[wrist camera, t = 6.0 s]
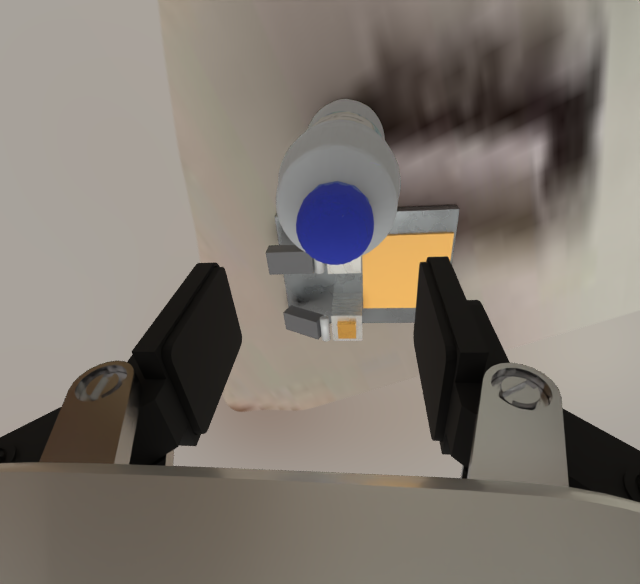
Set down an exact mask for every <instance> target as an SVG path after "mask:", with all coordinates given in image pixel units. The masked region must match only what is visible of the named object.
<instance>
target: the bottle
mask: <svg viewBox="0 0 640 584" xmlns="http://www.w3.org/2000/svg"><path fill="white" fill-rule="evenodd" d="M400 186H401V180H400V172H399V167H398V164H397V161H396V158H395V156H394V154H393V152H392V151H391V149H390V147H389V146H388V144H387V143H386V141H385V136H384V131H383V128H382V124H381V122H380V120H379V118H378V117H377V115H376V114H375V112H374V111H373V110H372V109H371V108H370V107H368V106H367V105H365V104H363V103H361V102H358V101H355V100H350V99H340V100H336V101H334V102H332V103H330V104H327V105H326V106H324V107H323V108H321V109H320V110H319V111H318V112H317V114H316V115H315V116H314V117H313V119H312V121H311V123H310V125H309V127H308V129H307V131H305V132H304V133H303V134H302V135H301V136H300V137H299V138H298V139H297V140H296V141H295V142H294V143H293V144H292V145H291V146H290V148H289V149H288V151H287V152H286V154H285V156H284V159H283V161H282V163H281V167H280V171H279V178H278V187H277V194H276V210H277V215H278V218H279V222H280V224H281V226H282V228H283V230H284V232H285V233H286V235H287V236H288V237H289V239H290V240H291V241H292V242H293V243H294V244H295V245H296V246H297V247H298V248H300V249H301V250H303V251H304V252H306V253H307V254H309V255H310V256H311V257H312V258H314V259H315V260H317V261H319V262H322V263H324V264H329V265H340V264H345V263H348V262H351V261H352V260H355V259H357V258H358V257H360V256H362V255H364V254H366V253H368V252H370V251H371V250H373V249H374V248H375V247H377V246H378V245H379V244H380V243H381V242H382V241H383V240H384V239H385V238H386V236H387V235H388V233H389V231H390V230H391V228H392V226H393V223H394V220H395V218H396V213H397V206H398V198H399V194H400Z"/></svg>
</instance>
